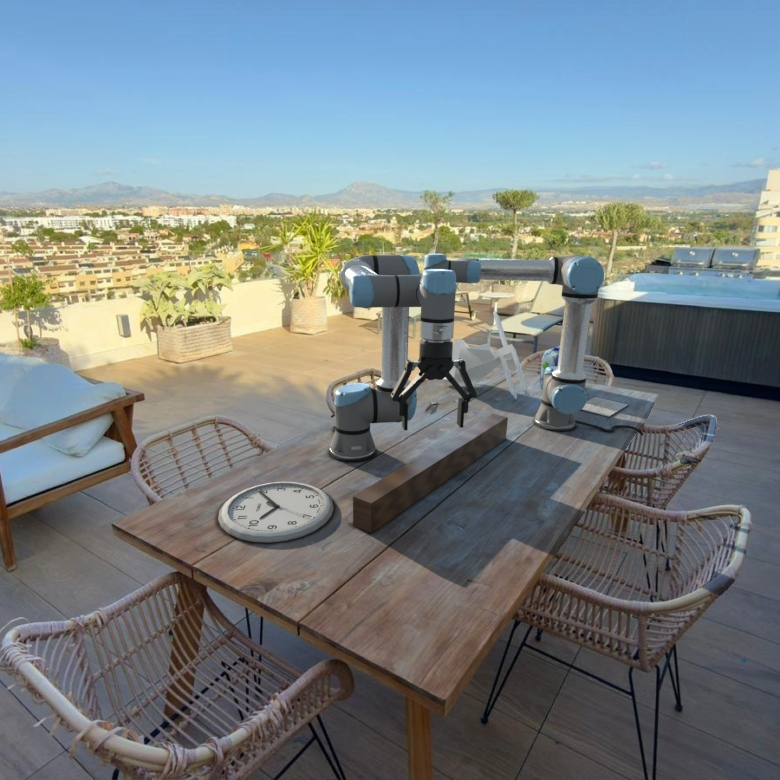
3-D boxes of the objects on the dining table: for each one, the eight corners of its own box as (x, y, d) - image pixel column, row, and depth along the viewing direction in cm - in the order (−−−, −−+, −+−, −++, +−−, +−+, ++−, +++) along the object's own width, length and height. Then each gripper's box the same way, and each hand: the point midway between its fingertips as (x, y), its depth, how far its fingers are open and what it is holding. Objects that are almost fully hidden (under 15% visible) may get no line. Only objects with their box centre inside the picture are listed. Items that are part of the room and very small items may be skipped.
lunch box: (556, 397, 238) (561, 352, 232) (535, 391, 245) (539, 348, 239) (582, 385, 256) (588, 344, 249) (562, 381, 263) (567, 340, 257)
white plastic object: (461, 429, 252) (437, 405, 227) (444, 352, 274) (420, 323, 250) (535, 404, 240) (518, 377, 215) (510, 326, 262) (492, 293, 237)
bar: (491, 434, 194) (492, 413, 191) (505, 438, 190) (507, 417, 188) (352, 525, 133) (352, 496, 131) (370, 533, 130) (371, 503, 128)
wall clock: (332, 534, 126) (204, 538, 124) (332, 540, 127) (205, 544, 124) (334, 477, 155) (230, 480, 152) (334, 482, 155) (231, 485, 153)
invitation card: (608, 416, 214) (573, 407, 224) (608, 416, 214) (573, 408, 224) (628, 404, 229) (594, 396, 238) (628, 405, 229) (594, 397, 238)
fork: (422, 411, 216) (422, 407, 215) (433, 400, 230) (433, 396, 230) (428, 412, 215) (429, 407, 215) (438, 401, 230) (439, 396, 229)
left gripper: (384, 344, 113) (383, 435, 119) (494, 341, 117) (487, 430, 123) (379, 337, 120) (378, 423, 126) (483, 335, 124) (477, 419, 130)
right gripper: (424, 294, 195) (422, 350, 202) (421, 303, 172) (419, 366, 178) (444, 295, 195) (441, 350, 201) (444, 304, 171) (441, 367, 177)
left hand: (432, 427), depth 125 cm, fingers open, 13 cm apart
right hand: (431, 358), depth 189 cm, fingers open, 13 cm apart
